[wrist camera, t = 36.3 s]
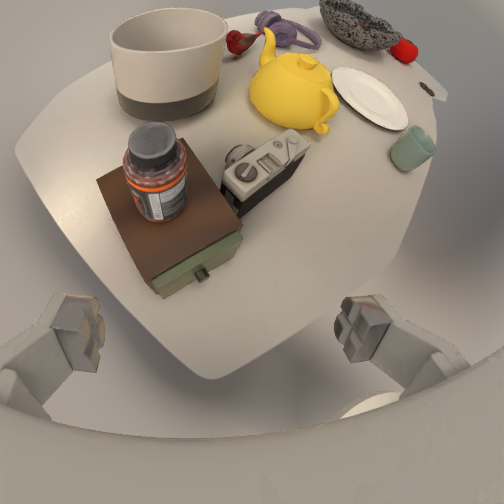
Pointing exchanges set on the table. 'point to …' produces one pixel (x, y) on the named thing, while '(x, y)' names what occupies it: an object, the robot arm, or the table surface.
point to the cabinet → (170, 232)
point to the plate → (370, 98)
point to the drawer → (197, 265)
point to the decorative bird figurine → (240, 41)
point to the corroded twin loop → (427, 89)
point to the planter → (167, 62)
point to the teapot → (293, 89)
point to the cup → (412, 149)
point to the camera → (260, 170)
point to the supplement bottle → (156, 171)
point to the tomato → (405, 51)
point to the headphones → (286, 30)
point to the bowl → (357, 25)
